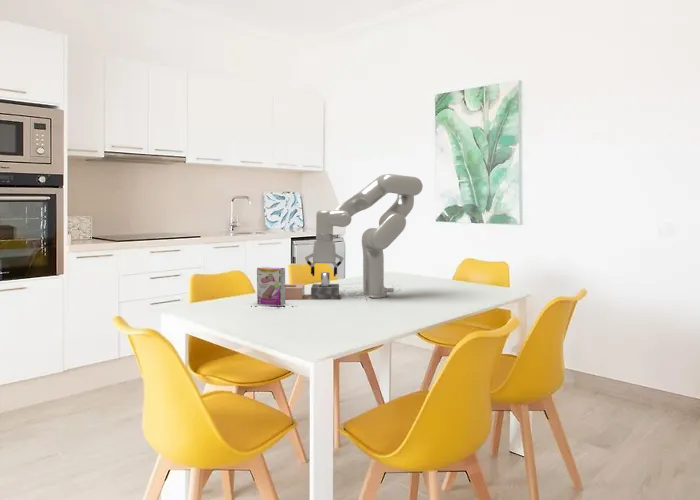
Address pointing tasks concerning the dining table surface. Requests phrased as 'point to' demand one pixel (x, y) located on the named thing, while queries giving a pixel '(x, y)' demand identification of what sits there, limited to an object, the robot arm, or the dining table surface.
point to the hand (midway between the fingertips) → (324, 275)
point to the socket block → (294, 291)
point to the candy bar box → (271, 286)
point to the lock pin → (325, 279)
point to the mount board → (322, 293)
